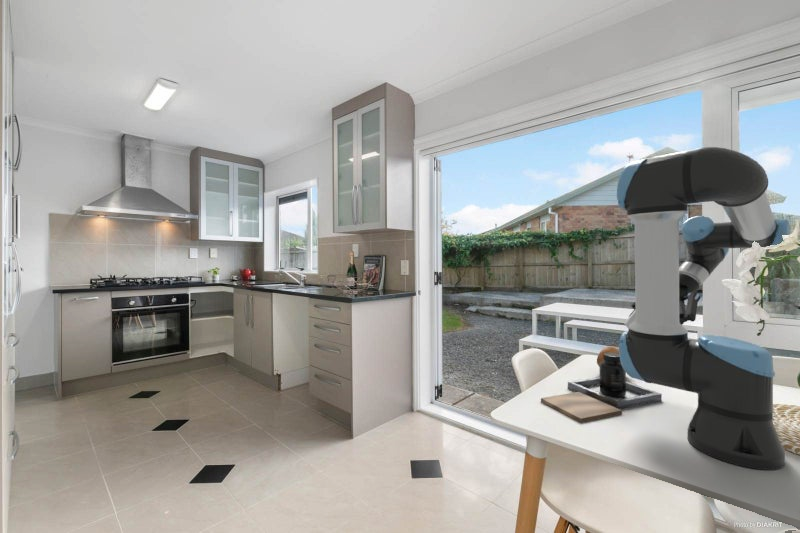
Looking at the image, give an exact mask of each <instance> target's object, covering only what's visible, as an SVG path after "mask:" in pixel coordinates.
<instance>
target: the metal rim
mask: <svg viewBox="0 0 800 533" xmlns="http://www.w3.org/2000/svg"><path fill="white" fill-rule="evenodd" d="M595 386H600V376H598V377H597V376H596V377H589V378H585V379H579V380H578V379H577V380H571V381H570V380H569V381H567V389H569V390H572V391H573V392H580V393H583V394H585V395H587V396H590V397H592V398H594V399H597V400H599V401H601V402H604V403H606V404H608V405H611V406H613V407H615V408H618V409H620V410H622V409H626V408H632V407H638V406H643V405H647V404H648V405H649V404H653V403H657V402H661V401H662V398H663V397H662V393H660V392H658V391H654V390H651V389H649V388H646V387H642V386H640V385H637V384H633V383H631V382H628V381H626V391H629V392H632V393H635V394H638V395H636V396H631V397H630V396H629V397H627V398H625V397H624V398H619V399H616V398H613V397H608V396H605V395H603V394H601V392H598V391H595V390H593V389H590V388H588V387H595Z"/></svg>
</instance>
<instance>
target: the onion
mask: <svg viewBox="0 0 800 533" xmlns="http://www.w3.org/2000/svg"><path fill="white" fill-rule="evenodd" d="M604 353H615V354H619V347H616V346H611V345H609V346H606V347H604V348H602V350H600V351H599V353H598V355H597V357H596V363H597V366H598V368H600V364H601V363H602V362H604V360H603V354H604Z"/></svg>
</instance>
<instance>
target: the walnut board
mask: <svg viewBox="0 0 800 533" xmlns="http://www.w3.org/2000/svg"><path fill="white" fill-rule="evenodd" d="M540 402H541V403H543V404H544V403H545V405H547V406H548V405H549V407H551V408H552V409H554V410H556V411H558V412H560V413H561V414H564V415H565V416H568V417H570V419H573V420H575V421H577V422H579V423H586V422H591V421H596V420H599V419H604V418H609V417H613V416H618V415H622V414H623V411H622V409H618V408H615V407H613V406H611V405H608V404H606V403H604V402H601V401H599V400H597V399H594V398H592V397H590V396H587V395H585V394H583V393H580V392H575V391H573V392H570V393H564V394H557V395H552V396H545V397H541V398H540Z"/></svg>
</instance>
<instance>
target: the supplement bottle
mask: <svg viewBox="0 0 800 533" xmlns="http://www.w3.org/2000/svg"><path fill="white" fill-rule="evenodd" d="M603 360H604V362H602V363H601V364H600V367H599V377H600V385H599V393H600V394H603V395H605V396H608V397H610V398H613V399H624V398H625V397H626V396H627V390H626V382H627V378H626V376H627V373H626V372H625V371H624V369H623V367H622V365H621V361H620V356H619V354H615V353H604V354H603Z"/></svg>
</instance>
